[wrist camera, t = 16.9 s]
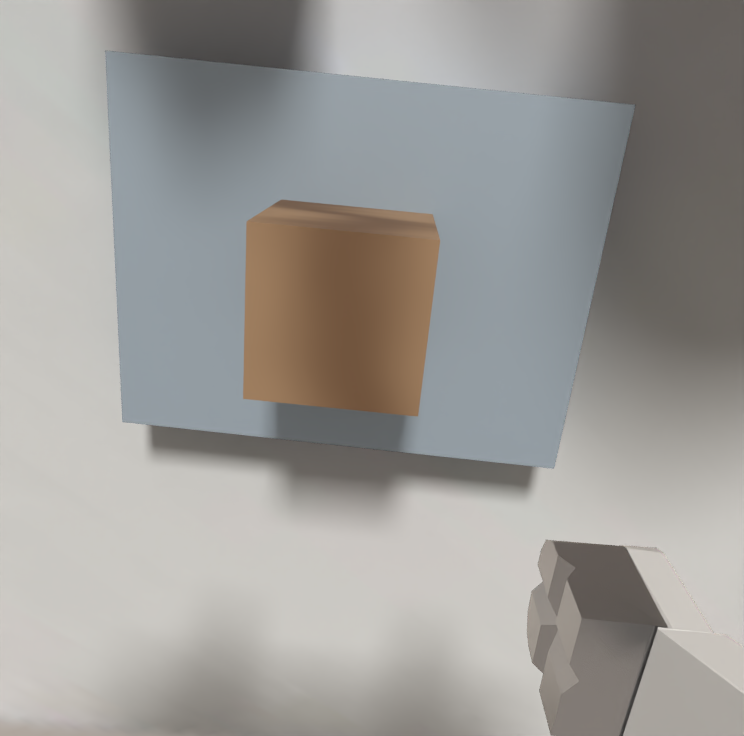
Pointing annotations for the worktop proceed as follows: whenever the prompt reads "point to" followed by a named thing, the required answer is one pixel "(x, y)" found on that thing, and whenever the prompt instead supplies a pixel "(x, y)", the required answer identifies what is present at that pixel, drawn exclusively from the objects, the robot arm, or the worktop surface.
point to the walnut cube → (338, 306)
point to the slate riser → (369, 190)
